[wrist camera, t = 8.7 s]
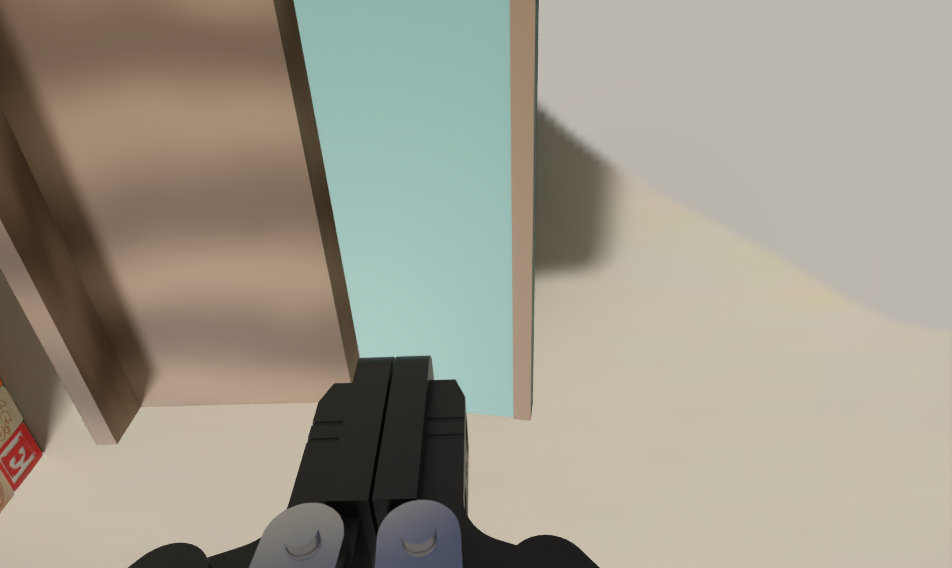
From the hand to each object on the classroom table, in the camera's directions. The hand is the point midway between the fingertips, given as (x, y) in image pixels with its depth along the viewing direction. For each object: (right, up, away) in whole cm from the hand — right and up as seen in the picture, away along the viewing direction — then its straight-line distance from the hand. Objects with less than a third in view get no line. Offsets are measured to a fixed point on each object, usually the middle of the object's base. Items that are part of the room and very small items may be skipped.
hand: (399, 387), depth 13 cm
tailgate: (-4, +5, +12) cm, 14 cm away
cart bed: (-11, +7, +16) cm, 21 cm away
